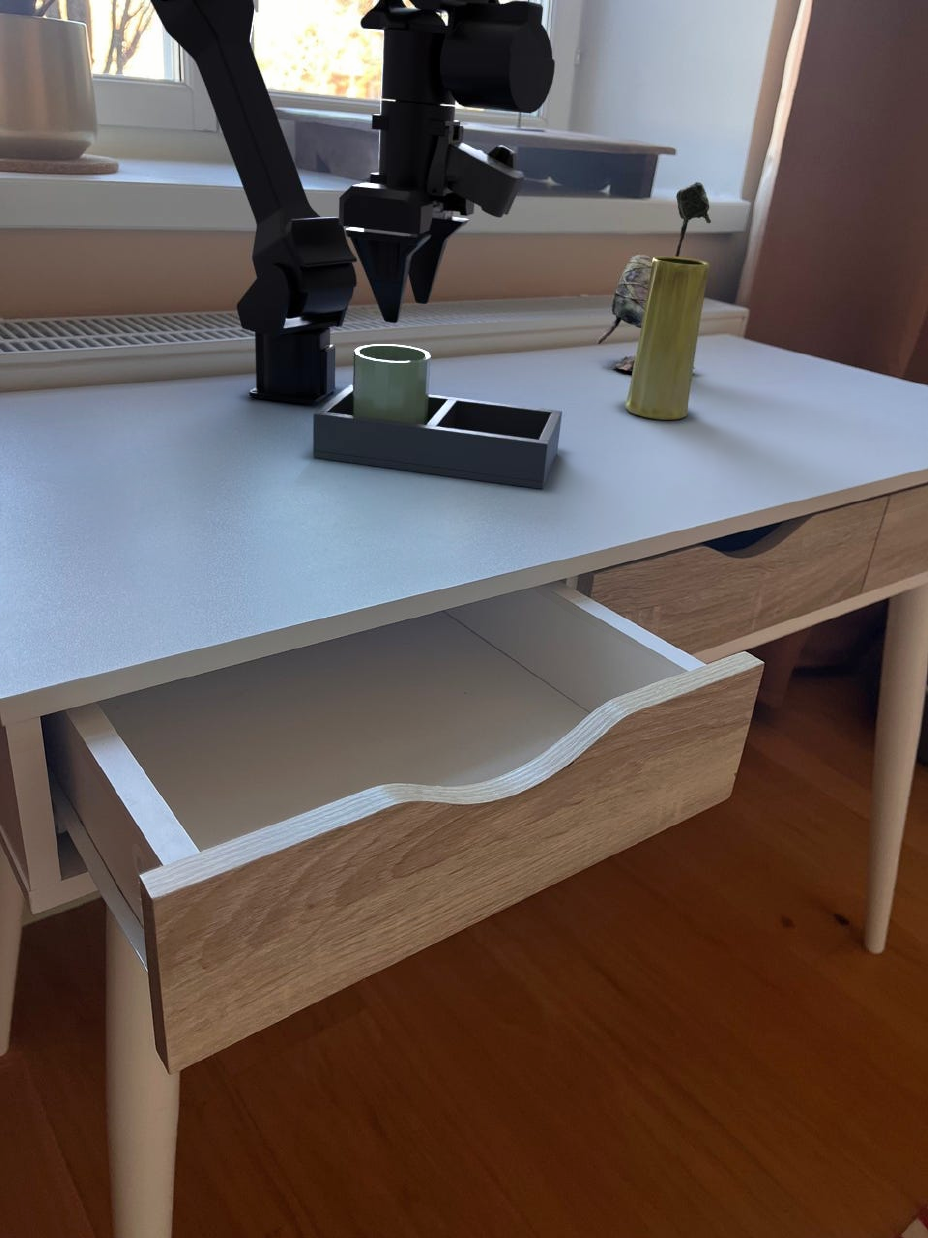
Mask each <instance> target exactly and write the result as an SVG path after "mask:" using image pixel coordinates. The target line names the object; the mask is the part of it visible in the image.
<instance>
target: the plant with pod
mask: <svg viewBox="0 0 928 1238" xmlns="http://www.w3.org/2000/svg"><path fill="white" fill-rule="evenodd" d="M675 198H676V203H677V209H678V214H679V216H680V219H682V220H683V221H682V224H681V227H680V237H679V241H678V244H677V248H676V250H675V251H676V252H675V255H674V257H680V254H681V248H682V244H683V240H684V239H685V234H686V233H687V228H688V223H689V221H691V220H693V219H696V218H697V219H701V218H703V219H704V220H705V222H706V223H707V224H711V223H712V220H711V218H710V216H709V214H708V212H709V210H710V200H709V198H708V195H707V192H706V190H705V187H704V185H703V184H702V183H701V182H699V181H696V182H694V183H693V184H691V185H688V186H685V187H683V188H682V189H679V190H678V191H677V193H676V196H675ZM632 254H634V255H633V256H632V257H631V258H630V259H629V262H628V263H627V265H626V266H625V268H624V270H623V271H622V273H621V276H620V279H619V282H618V285H617V287H616V289H615V291H614V294H613V297H612V299H611V313H612V316H615V320H614V321H613V322H612V323H611V324H610V326H608V328H607V329H606V330H605V332H604V333H603V334H602V335H601V336H600V337H599V338H598V339H597V341H596V344H597V345H601V344H602V343H603V342H604V341H605V340H606V339H607V338H608V337H610V335H611V334H612V333H613V332H614V331H615V330H616V329H617V328H618V327H619V325H620V323H621V321H623V322H624V323H627V324H628V325H633V326H635V327H636V328H638V329H641V325H642V320H643V314H644V309H645V303H646V297H647V291H648V285H649V278H650V272H651V265H652V259H653V257H650V256H648V255H645V254H638V253H637V252H632ZM637 254H638V255H637ZM624 356H625V357H623V358H621V359H620V360H619V362H618V363H617V364H616V365H613V368H614V369H618V370H621V369H622V370H624V371H630V372H633V367H634V362H635V358H636V355H630V356H629V355H628V356H626V355H624ZM695 369H696V368H695V367H694V366H693V370H695Z"/></svg>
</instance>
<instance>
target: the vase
mask: <svg viewBox="0 0 928 1238" xmlns="http://www.w3.org/2000/svg"><path fill="white" fill-rule="evenodd" d="M709 272H710V262H709V261H708V262H707V261H705V260H702V259H697V258H691V257H683V256H679V257H675V255H674V256H670V255H660V256H657V255H656V256H653V257H652V265H651V272H650V278H649V285H648V291H647V297H646V303H645V309H644V314H643V320H642V325H641V328H640V331H639V336H638V343H637V348H636V354H635V356H636V358H635V362H634V367H633V371H632V373H631V379H630V385H629V390H628V393H627V398H626V401H625V405H624V406H625V408H626V410H627V411H628V412H629V413H630V414H633V415H636V416H638V417H641V418H642V417H643V418H646V419H647V418H648V419H652V420H659V421H660V420H661V421H674V420H681V419H683V418H685V417H687V416H688V412H689V400H690V394H691V387H692V381H693V372H694V369H693V367H694V366H695V365H694V364H695V358H696V352H697V346H698V345H697V344H698V339H699V338H698V336H699V330H700V324H701V319H702V317H701V316H702V311H703V305H704V301H705V300H704V299H705V293H706V288H707V282H708V276H709Z"/></svg>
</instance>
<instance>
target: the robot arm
mask: <svg viewBox="0 0 928 1238" xmlns="http://www.w3.org/2000/svg"><path fill="white" fill-rule="evenodd" d="M149 1H150V3H151V5H152V7H153V9H154V11H155V12H156V15H157V16H158V18H159V21H160V23H161V24H162V26H163V28H164V30H165V32H166V33H167V34H168V35H169V36H170V37H171V38H172V39H173V40H174V41H175V42H176V43H177V44H178V45H179V46H180V47H181V48H182V50H183V51H185V52H186V53H187V54H188V55H189V56H190V58H191V59H193V61H194V62H195V64H196V66H197V68H198V71H199V73H200V76H201V79H202V82H203V84H204V87H205V89H206V92H207V96H208V98H209V100H210V103H211V105H212V108H213V111H214V114H215V116H216V119H217V121H218V124H219V127H220V129H221V133H222V135H223V137H224V140H225V143H226V145H227V148H228V151H229V154H230V156H231V158H232V161H233V164H234V167H235V170H236V172H237V175H238V177H239V179H240V183H241V185H242V188H243V191H244V193H245V196H246V198H247V201H248V204H249V207H250V209H251V212H252V214H253V217H254V220H255V224H256V228H255V235H254V242H253V248H252V255H251V260H252V264H253V268H254V271H255V275H256V279H255V280H253V282H252V284H251V285H250V287H248V289H247V290H246V292H245V293H244V294H243V295H242V297H241V298H240V299H239V300H238V302H237V303H236V310H237V314H238V318H239V323H240V326H241V328H242V329H243V330H246V331H250V332H254V344H255V345H254V348H255V350H254V351H255V386H254V387H253V388H251V389H249V393H248V394H249V395H248V396H249V397H251V398H257V399H264V400H265V399H266V400H273V401H281V402H287V403H288V402H289V403H296V404H302V405H303V404H304V405H317V404H318V403H319V402H321V401H322V400H324V399H325V398H326V397H327V396H329V395H331V393H333V392H334V391H336V346H335V345H334V344H331V328H340V327H341V328H342V327H343V326H344V325H343V324H344V321H345V318H346V314H347V311H348V309H349V304H350V302H351V301H352V298H353V295H354V290H355V288H356V287H357V285H358V282H357V274H356V270H355V266H354V263H357V262H358V259H359V262H360V263H361V266H362V269H363V270H364V274H365V276H366V278H367V280H368V283H369V286H370V287H371V288H370V289H371V291H372V293H373V295H374V299H375V302H376V303H377V306H378V309H379V311H380V314H381V316H382V319H383V321H384V322H385V323H389V324H396V323H398V322H399V321H400V318H401V317H400V316H401V313H402V307H403V303H404V298H405V293H406V288H407V282H408V280H409V284H410V287H411V291H412V294H413V298H414V302H415V303H416V304H421V305H422V304H423V305H427V304H428V303H429V302H430V298H431V295H432V292H433V289H434V286H435V282H436V279H437V275H438V273H439V269H440V266H441V263H442V259H443V256H444V253H445V250H446V247H447V243H448V241H449V239H450V238H451V237H452V236H453V235H455V234H456V233H457V232H458V231H459V230H460V229H462V227H464V226H465V225H467V224H468V222H469V221H470V220H469V218H464V217H468V216H470V215H473V214H474V213H475V205H477V206H478V207H480V208H481V211H483V212H484V213H486V214H487V215H490V216H492V217H495V218H497V219H499V218H503V216H504V215H506V216H507V215H509V213H510V210H511V209H512V206H513V204H514V202H515V199H516V197H517V195H518V193H519V192H520V191H521V190H522V187H523V186H522V184H523V181H524V179H525V174H524V172H523V171H521V170H518V152H516V151H514V150H512V149H510V148H509V147H506V146H504V145H502V144H500V145H496V146H495V147H494V148H493V149H492V150H490V151H489V152H488V153H487V154H486V153H485V152H484V151H483V150H481V149H476V148H473V147H472V146H470V145H468V144H466V143H464V130H465V129H464V125H461V120H455V119H456V117H455V116H456V103H457V104H458V105H459V106H461V107H463V108H469V109H480V110H488V111H489V110H490V111H499V112H511V113H521V114H532V113H535V112H537V111H538V110H539V109H541V108H542V106H543V104H544V103H545V102H546V100H547V99H548V96H549V94H550V91H551V88H552V85H553V81H554V75H555V65H556V62H555V59H553V48H552V42H551V40H550V39H551V38H550V36H549V33H548V31H547V29H546V28H545V26H544V25H543V14H544V6H543V5H542V4H541V3H536V2H533V1H527V0H511V1H507V2H505V3H504V2H503V3H501V2H500V0H408V1H409V2H410V3H411V5H412V6H413V7H408V6H407V5H406V4H405V2H404V0H378V1H377V3H376V4H375V5H374V6H373V7H372V8H371V9H369V10H368V11H367V12H366V13H365V15H364V16H363V17H362V18H361V19H360V22H359V23H360V27H361V28H362V30H367V31H374V32H379V33H382V53H381V55H382V56H381V57H382V58H381V80H380V81H381V85H380V108H379V109H380V110H379V114H378V113H377V114H376V113H374V114H371V116H372V117H371V130H376V131H379V135H378V136H379V137H378V162H377V163H378V165H377V172H372V173H370V174H369V182H363V183H357V184H352V185H350V186H349V187H348V188H347V189H346V190H345V191H344V192H343V193H342V194H341V195H340V196H339V198H338V216H330V217H328V216H327V217H322V216H321V215H319V214H318V213H317V212H316V210H315V209H314V208H313V207H312V206H311V204H310V202H309V200H308V197H307V195H306V192H305V189H304V186H303V184H302V180H301V178H300V176H299V172H298V170H297V168H296V165H295V162H294V158H293V156H292V153H291V151H290V148H289V145H288V143H287V139H286V138H285V133H284V131H283V129H282V127H281V124H280V121H279V118H278V116H277V113H276V110H275V108H274V107H275V106H274V104H273V102H272V99H271V96H270V94H269V92H268V89H267V85H266V83H265V80H264V78H263V76H262V75H263V74H262V72H261V70H260V67H259V64H258V62H257V58H256V55H255V54H254V50H253V47H252V43H251V41H252V34H253V29H254V21H255V17H256V16H255V15H256V7H255V3H254V0H149ZM440 14H443V15H447V24H446V23H445V20H444V19H443V18H442V17H441V16H440ZM454 212H458V213H459V214H460V216H464V217H455V216H454ZM346 227H347V228H346ZM347 238H350V241H351V243H352V246H353V248H354V250H355V252H356V255H357V257H358V258H357V257H356V255H355V254H354V253H353V252H352V250H351V248H350V245H349V243H348V240H347Z"/></svg>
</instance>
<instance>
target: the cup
mask: <svg viewBox="0 0 928 1238" xmlns="http://www.w3.org/2000/svg"><path fill="white" fill-rule="evenodd" d="M431 362H432V356H431V354H430V353H429V352H428V351H426V350H424V349H421V348H418V347H412V346H409V345H408V346H407V345H401V344H383V343H382V344H379V343H378V344H368V345H362V346H358V347H357V348H355V349H354V350H353V369H352V371H353V373H352V374H353V377H352V385H353V416H360V417H367V418H375V419H383V420H390V421H398V422H406V423H413V424H421V425H427V416H428V398H429V395H430V394H429V393H430V378H431V364H432V363H431Z"/></svg>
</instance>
